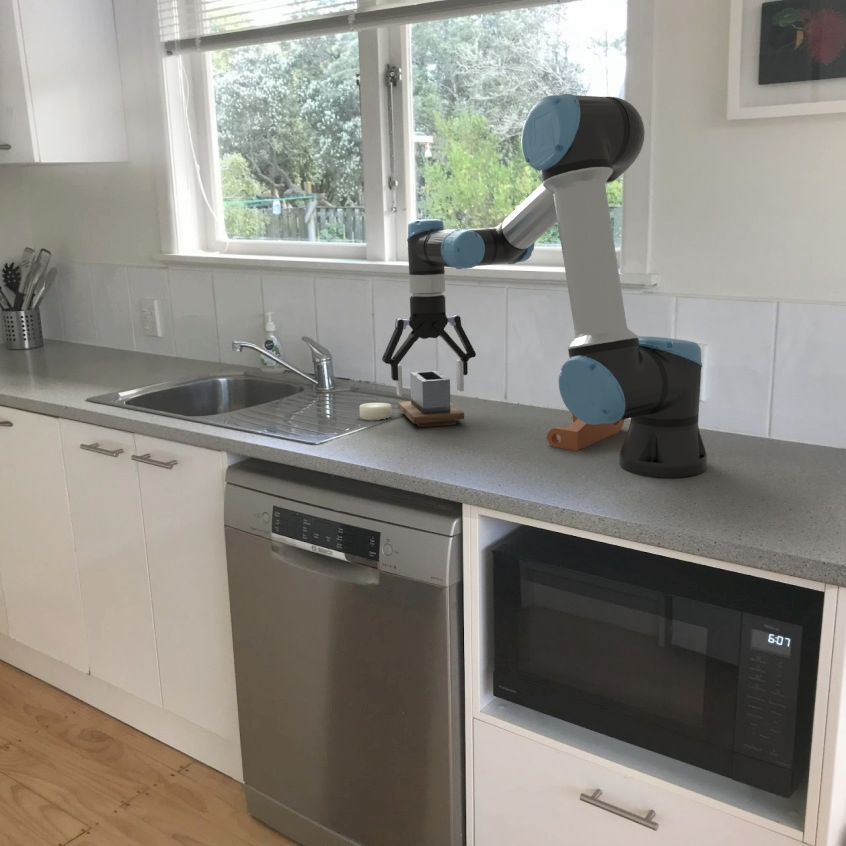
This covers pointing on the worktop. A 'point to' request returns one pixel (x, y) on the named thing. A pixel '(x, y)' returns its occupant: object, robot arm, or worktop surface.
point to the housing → (430, 392)
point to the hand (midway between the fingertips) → (430, 392)
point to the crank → (581, 434)
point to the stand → (430, 415)
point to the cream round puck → (375, 411)
